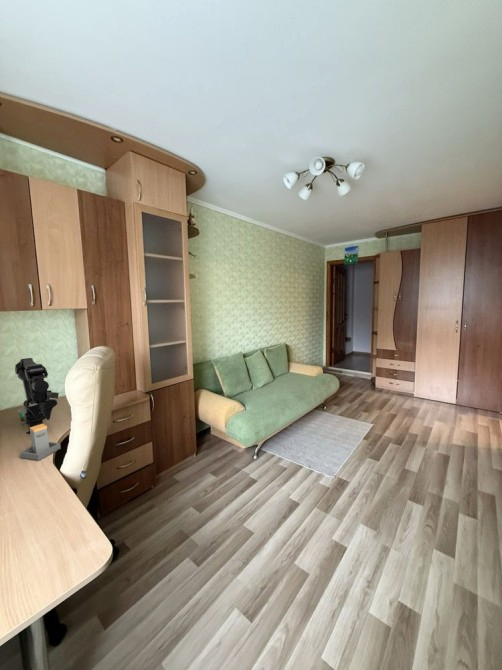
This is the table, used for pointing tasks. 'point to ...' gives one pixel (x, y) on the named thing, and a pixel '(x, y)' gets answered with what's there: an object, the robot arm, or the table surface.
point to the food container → (22, 415)
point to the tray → (37, 457)
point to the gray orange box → (39, 438)
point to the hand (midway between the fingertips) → (43, 418)
